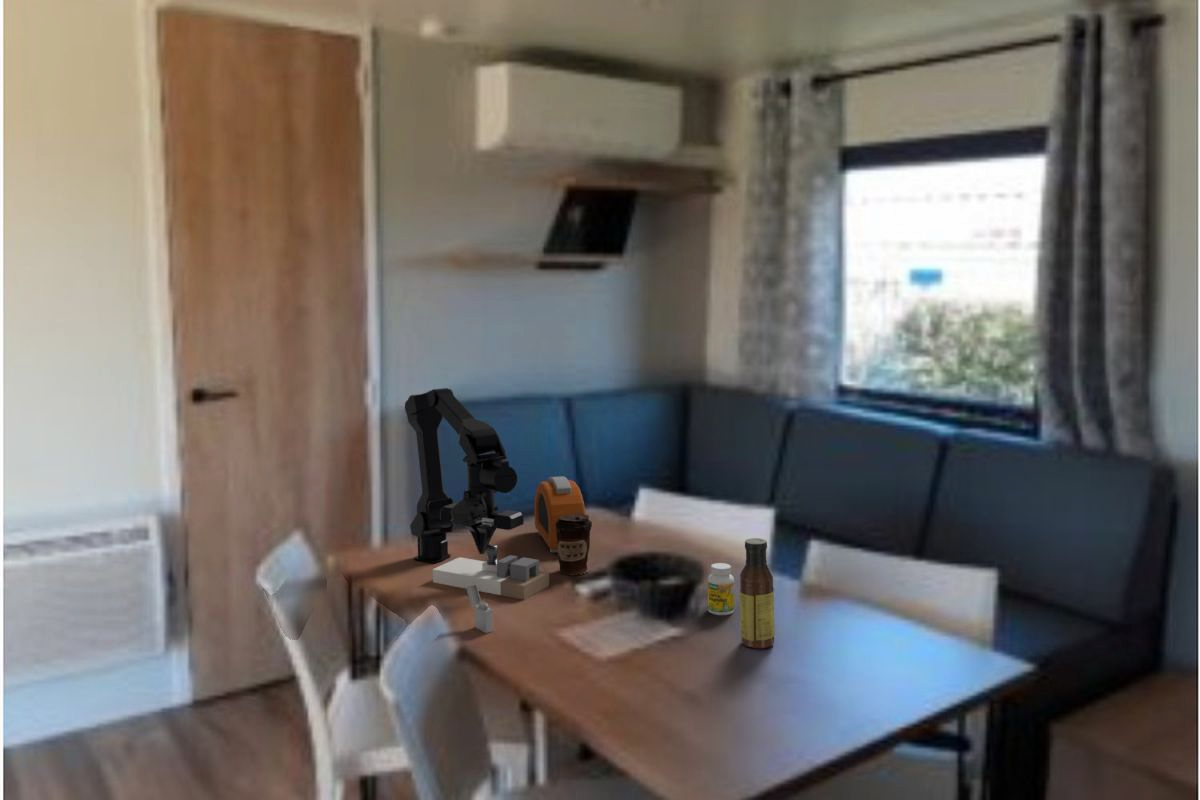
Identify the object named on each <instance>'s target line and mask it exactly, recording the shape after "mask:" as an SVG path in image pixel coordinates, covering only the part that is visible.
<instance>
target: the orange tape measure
mask: <svg viewBox="0 0 1200 800" xmlns="http://www.w3.org/2000/svg"><path fill="white" fill-rule="evenodd" d="M567 514H584V515H587V514H586V507H585V502H584V498H583V495H582V492H581V489H580V487H579V485H577V483H576V482H575V481H573V480H571V479H568V478H567V477H566V476H562V475H561V476H550V477H548V478H547V480H546V481H540V482H539V483H538V486H537V487H536V491H535V496H534V526H535V529H536V530H537V532H538V535H539V536H540V537H542V539H543V540H544V542H545V544H546V545H547V547H548V548H549V552H550V553H558V546H557V533H556V526H555V525H556V522H557V521H558V520H559V517H560V516H564V515H567Z"/></svg>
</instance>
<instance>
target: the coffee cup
mask: <svg viewBox="0 0 1200 800" xmlns="http://www.w3.org/2000/svg"><path fill="white" fill-rule="evenodd" d="M555 526H556V533H557V546H558V552H557V554H558V558H557V559H558V563H559V564H558V565H559V572H560V573H561V574H563V575H566V576H567V575H568V576H569V575H570V576H577V575H578V574H580V575H584V574H587V573H588V570H589V569H588V560H589V559H588V557H589V555H588V554H589V551H590V544H591V543H590V539H591V529H592V526H593V521H592V520H591V519H590V516H589V515H588V514H586V515H584V514H567V515H564V516H560V517H559V520H558V521H557V522H556V525H555ZM586 572H587V573H586ZM583 573H584V574H583ZM578 576H579V575H578Z"/></svg>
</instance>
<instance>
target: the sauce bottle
mask: <svg viewBox="0 0 1200 800" xmlns="http://www.w3.org/2000/svg"><path fill="white" fill-rule="evenodd" d="M744 549H745V558H746V559H745V565H744V567H743V568H742V570H741V572H740V575H739V579H740V580H739V583H740V584H739V587H740V588H739V589H740V590H739V598H740V599H739V600H740V601H739V603H740V605H739V607H740V608H739V610H740V636H741V642H742V644H743V645H744V646H745V647H748V648H752V649H755V650H756V649H759V650H760V649H762V650H763V649H768V648H771V647H772V646H773V645H774V642H775V633H776V632H775V592H774V591H775V588H774V577H773V575H772V573H771V571H770V569H769V565H768V564H767V562H768V561H767V560H768V559H767V549H768V542H767V540H766V539H763V538H758V537H753V538H747V539H745V540H744Z"/></svg>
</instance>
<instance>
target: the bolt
mask: <svg viewBox="0 0 1200 800" xmlns="http://www.w3.org/2000/svg"><path fill="white" fill-rule="evenodd" d="M497 561H499V553H498V545H497V544H495V543H489V545H487V549H486V560H485V561H484V563H482V570H483V571H489V572H494V573H497ZM508 575H511V574H510V565H508Z"/></svg>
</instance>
